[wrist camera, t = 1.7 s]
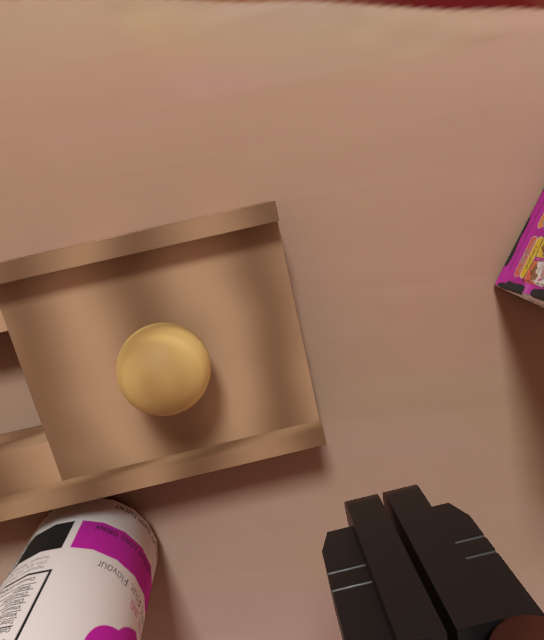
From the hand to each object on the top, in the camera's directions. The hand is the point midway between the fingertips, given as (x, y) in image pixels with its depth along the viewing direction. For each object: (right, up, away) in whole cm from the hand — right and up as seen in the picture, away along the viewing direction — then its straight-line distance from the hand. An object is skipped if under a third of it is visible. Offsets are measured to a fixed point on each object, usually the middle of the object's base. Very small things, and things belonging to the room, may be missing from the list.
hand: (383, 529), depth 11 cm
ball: (-8, +2, +15) cm, 17 cm away
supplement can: (-14, -11, +23) cm, 29 cm away
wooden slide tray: (-14, +2, +20) cm, 24 cm away
